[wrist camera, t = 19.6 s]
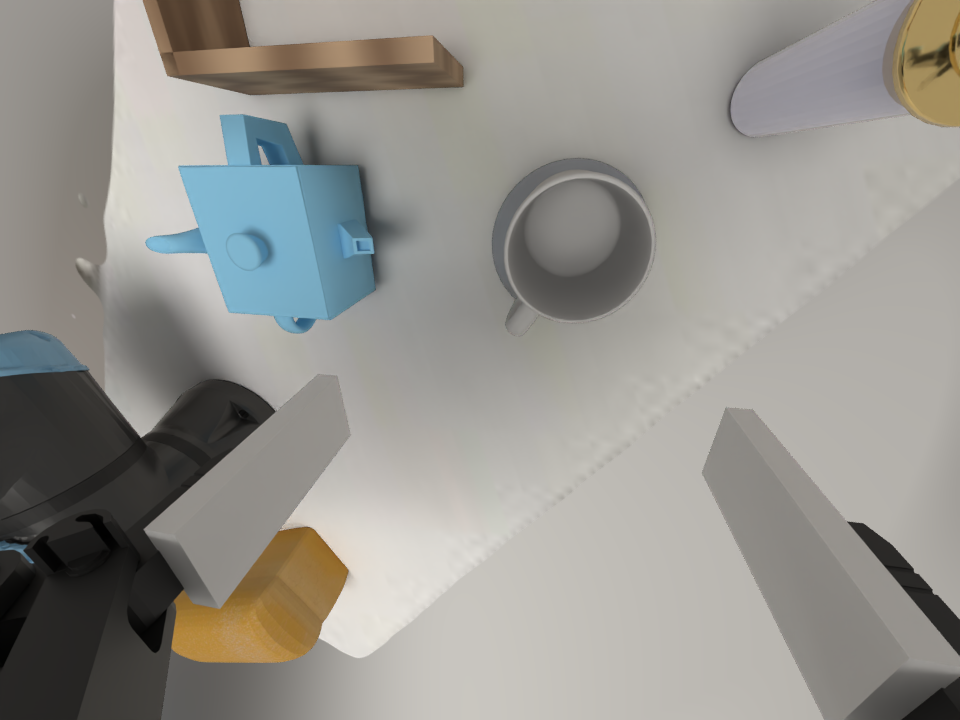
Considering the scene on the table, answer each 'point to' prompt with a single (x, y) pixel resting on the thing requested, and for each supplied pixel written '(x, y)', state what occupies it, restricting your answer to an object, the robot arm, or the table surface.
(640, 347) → the table surface
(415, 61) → the three-sided wooden frame
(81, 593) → the robot arm
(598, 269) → the mug
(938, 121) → the perfume bottle
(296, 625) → the bread
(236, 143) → the teapot
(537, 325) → the table surface
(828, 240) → the table surface
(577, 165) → the grey saucer
